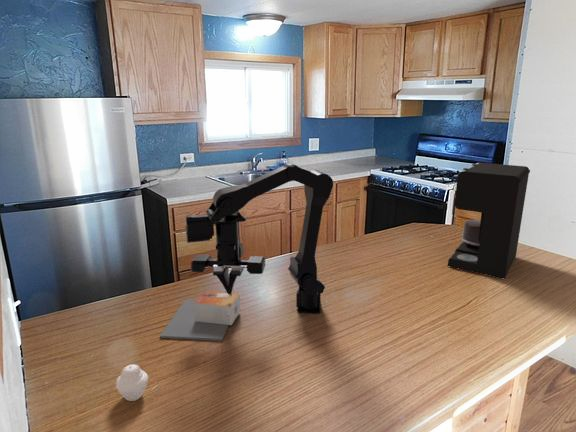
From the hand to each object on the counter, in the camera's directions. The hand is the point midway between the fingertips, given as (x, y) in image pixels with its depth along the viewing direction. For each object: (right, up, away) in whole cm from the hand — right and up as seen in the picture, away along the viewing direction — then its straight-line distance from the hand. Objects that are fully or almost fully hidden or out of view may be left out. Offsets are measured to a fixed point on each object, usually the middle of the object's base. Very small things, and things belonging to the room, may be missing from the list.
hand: (229, 293), depth 110 cm
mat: (-8, -8, +3) cm, 11 cm away
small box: (+2, -4, +1) cm, 5 cm away
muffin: (-16, -16, -26) cm, 35 cm away
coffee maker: (+88, +4, +44) cm, 99 cm away
